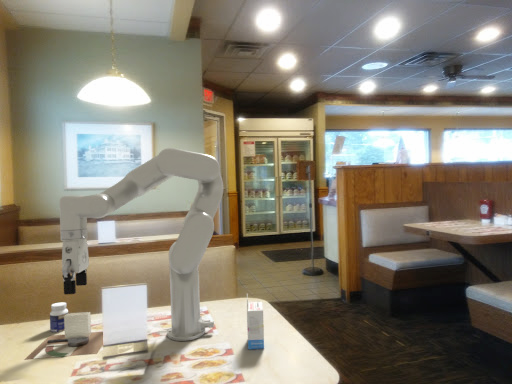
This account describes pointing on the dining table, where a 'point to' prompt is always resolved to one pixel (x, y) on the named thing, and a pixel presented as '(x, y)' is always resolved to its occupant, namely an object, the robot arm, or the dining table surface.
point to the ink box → (255, 325)
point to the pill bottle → (58, 317)
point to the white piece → (76, 329)
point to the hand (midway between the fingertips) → (75, 289)
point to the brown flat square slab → (67, 347)
